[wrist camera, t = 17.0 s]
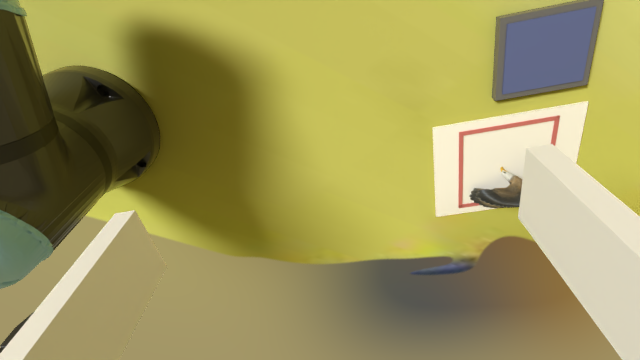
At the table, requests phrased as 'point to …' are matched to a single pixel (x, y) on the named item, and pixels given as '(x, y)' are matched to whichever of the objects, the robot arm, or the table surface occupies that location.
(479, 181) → the print sheet
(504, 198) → the eagle figurine
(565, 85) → the ink pad
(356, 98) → the table surface
